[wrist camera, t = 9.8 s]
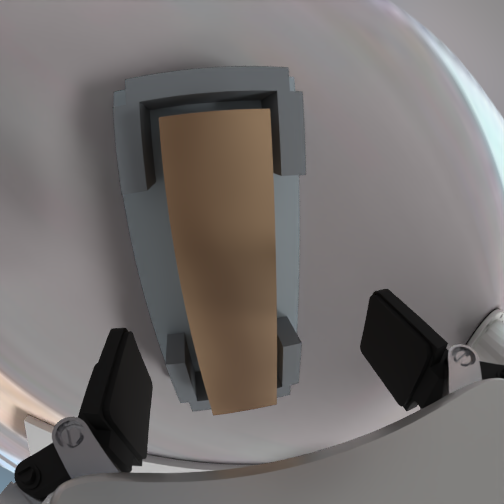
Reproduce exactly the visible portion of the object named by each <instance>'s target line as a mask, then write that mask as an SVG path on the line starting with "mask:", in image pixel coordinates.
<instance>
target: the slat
mask: <svg viewBox="0 0 504 504" xmlns="http://www.w3.org/2000/svg"><path fill="white" fill-rule="evenodd" d="M159 129H160V142H161V153H162V163H163V173H164V182H165V190H166V198H167V205H168V213H169V220H170V226H171V233H172V239H173V245H174V251H175V257H176V263H177V268H178V274H179V279H180V284H181V289H182V294H183V299H184V304H185V308H186V313H187V318H188V322H189V326H190V331H191V335H192V339H193V343H194V347H195V351H196V355H197V359H198V363H199V367H200V371H201V375H202V378H203V382H204V385H205V389H206V392H207V396H208V399H209V403H210V406H211V409H212V413H213V415H220V414H227V413H234V412H240V411H246V410H251V409H256V408H261V407H266V406H271V405H276V404H277V285H276V238H275V205H274V178H273V156H272V135H271V117H270V109H238V110H221V111H208V112H197V113H188V114H180V115H172V116H165V117H159Z"/></svg>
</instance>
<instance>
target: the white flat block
mask: <svg viewBox="0 0 504 504" xmlns="http://www.w3.org/2000/svg"><path fill="white" fill-rule="evenodd" d="M24 424H25V430H26V436H27V441H28V447H29V451H30V456H32V455H33V454H35V453H37V452H38V451H40V450H41V449H43V448H45V447H46V446H48V445H50V444H51V443H53V441H52V431H53V429H54V426H52V425H50V424H48V423H45V422H43V421H41V420H39V419H37V418H35V417H32V416H30V415H27V417H26V418H25V420H24ZM248 466H254V465H236V464H215V463H202V462H192V461H184V460H176V459H170V458H163V457H158V456H152V455H147V457H146V459H142V466H132V471H131V472H130V473H183V472H202V471H215V470H225V469H233V468H241V467H248Z"/></svg>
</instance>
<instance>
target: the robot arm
mask: <svg viewBox="0 0 504 504" xmlns="http://www.w3.org/2000/svg"><path fill="white" fill-rule="evenodd" d="M503 321H504V312H503V311H502V310H500V309H496V310H494V311H493V312H492V313H491V314H489V315H488V316H487V318H486V319H485V320H484V321H483V322H482V323H481V325H480V326H479V327H478V329H477V330H476V331H475V333H474V334H473V336H472V337H471V339H470V340H469V342H468V344H467V345H463V344H457V345H453V346H452V347H450V349H449V351H448V350H447V349H446V347H447V344H448V343H447V342H446V341H445V340H444V339H443V338H442V337H441V336H440V335H438V334H437V333H436V332H435V331H434V330H433V329H432V328H431V327H430V326H429V325H428V324H427V323H426V322H424V321H423V320H422V319H421V318H420V317H419V316H418V315H417V314H416V313H415V312H413V311H412V310H411V309H410V308H409V307H408V306H407V305H406V304H404V303H403V302H402V301H401V300H400V299H399V298H398V297H396V296H395V295H394V294H393V293H392V292H391V291H390V290H388V289H383V290H378V291H375V292H374V293H373V295H372V296H371V297H370V299H369V305H368V310H367V316H366V321H365V326H364V331H363V335H362V340H361V345H360V349H361V352H362V354H363V355H364V357H365V358H366V359H367V361H368V362H369V363H370V365H371V366H372V368H373V369H374V370H375V372H376V373H377V375H378V376H379V377H380V379H381V380H382V382H383V383H384V384H385V386H386V387H387V389H388V390H389V391H390V393H391V394H392V396H393V397H394V399H395V400H396V401H397V403H398V404H399V405H400V406H403V407H404V408H405V410H406V411H409V410H411V409H413V408H415V407H417V405H419V406H420V410H419V411H417V412H415V413H413V414H411V415H409V416H407V417H405V418H403V419H401V420H399V421H397V422H394V423H392V424H390V425H388V426H386V427H383V428H381V429H379V430H376V431H374V432H371V433H369V434H366V435H364V436H361V437H358V438H356V439H353V440H350V441H348V442H345V443H342V444H339V445H336V446H333V447H330V448H326V449H323V450H320V451H316V452H313V453H309V454H305V455H301V456H298V457H293V458H289V459H285V460H280V461H275V462H270V463H265V464H260V465H254V466H248V467H241V468H233V469H225V470H215V471H202V472H183V473H130V472H131V471H132V466H142V459H146V457H147V444H148V430H149V418H150V408H151V398H152V388H153V387H152V381H151V378H150V376H149V374H148V371H147V369H146V366H145V364H144V362H143V359H142V357H141V354H140V352H139V349H138V346H137V344H136V341H135V338H134V336H133V333H132V332H131V331H129V332H128V330H127V329H126V328H115V329H111V330H110V333H109V335H108V338H107V340H106V343H105V346H104V348H103V351H102V354H101V356H100V359H99V362H98V363H97V364H96V365H95V367H94V369H93V372H92V375H91V378H90V381H89V384H88V387H87V390H86V393H85V396H84V399H83V402H82V405H81V409H80V412H79V416H78V418H77V417H67V418H64V419H62V420H60V421H59V422H58V423H57V424H56V425H55V426H54V429H53V431H52V441H53V443H51V444H50V445H48V446H46V447H45V448H43V449H41V450H40V451H38V452H37V453H35V454H33V455H32V456H30V457H28V458H27V459H25V460H23V461H22V462H20V463H19V464H18V466H17V467H16V470H15V481H16V482H15V483H13V482H10V483H9V485H8V486H7V487H6V488H5V489H4V490H3V491H2V493H1V494H0V504H504V323H503Z"/></svg>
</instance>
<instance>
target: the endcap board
mask: <svg viewBox="0 0 504 504" xmlns="http://www.w3.org/2000/svg"><path fill="white" fill-rule="evenodd" d="M238 109H270V117H271V135H272V156H273V178H274V205H275V238H276V285H277V398H278V397H282V396H287V395H290V385H293V384H297V383H299V372H300V360H301V346H302V343H301V341H300V339H299V337H298V335H297V321H298V295H299V245H300V209H299V175H306V155H305V129H304V110H303V94H302V92H300V91H295V82H294V77H289V71H288V67H268V66H231V67H211V68H198V69H187V70H179V71H171V72H164V73H157V74H151V75H145V76H140V77H135V78H130V79H125V89H124V90H120V91H116V92H114V107H113V117H114V132H115V144H116V154H117V163H118V171H119V179H120V186H121V193H122V195H123V199H124V205H125V211H126V217H127V222H128V228H129V233H130V238H131V242H132V247H133V252H134V256H135V261H136V265H137V269H138V273H139V277H140V281H141V285H142V289H143V293H144V296H145V300H146V303H147V307H148V310H149V314H150V317H151V320H152V324H153V327H154V330H155V333H156V336H157V339H158V342H159V345H160V348H161V351H162V354H163V357H164V360H165V363H166V364H165V365H166V368H167V370H168V373H169V376H170V378H171V381H172V383H173V386H174V388H175V391H176V393H177V396H178V398H179V401H180V403H186V402H189V404H190V406H191V409H192V411H201V410H209V409H211V406H210V403H209V399H208V396H207V392H206V389H205V385H204V382H203V378H202V375H201V371H200V367H199V363H198V359H197V355H196V351H195V347H194V343H193V339H192V335H191V331H190V326H189V322H188V318H187V313H186V308H185V304H184V299H183V294H182V289H181V284H180V279H179V274H178V268H177V263H176V257H175V251H174V245H173V239H172V233H171V226H170V220H169V213H168V205H167V198H166V190H165V182H164V173H163V163H162V153H161V142H160V129H159V117H165V116H172V115H180V114H188V113H197V112H208V111H221V110H238Z"/></svg>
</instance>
